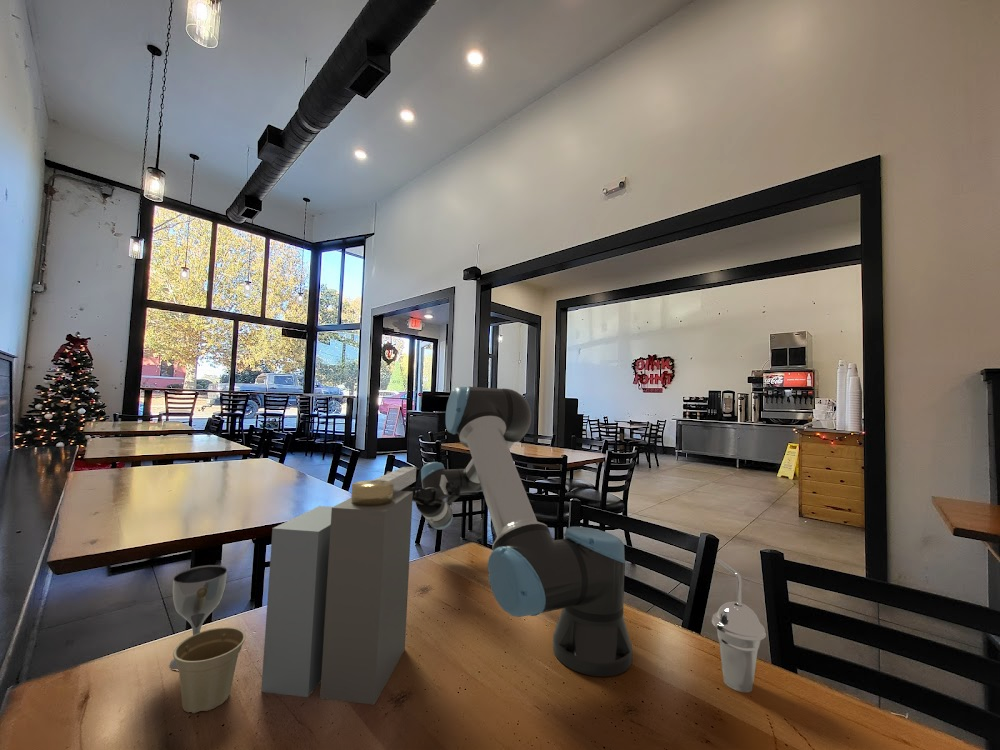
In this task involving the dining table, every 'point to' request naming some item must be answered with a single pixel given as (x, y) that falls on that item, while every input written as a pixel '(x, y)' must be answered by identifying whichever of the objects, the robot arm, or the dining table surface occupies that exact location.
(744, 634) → the cup with straw
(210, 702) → the flower pot
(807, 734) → the dining table surface
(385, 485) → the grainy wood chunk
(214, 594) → the wine glass
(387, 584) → the tall stand
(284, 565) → the short stand
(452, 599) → the dining table surface
